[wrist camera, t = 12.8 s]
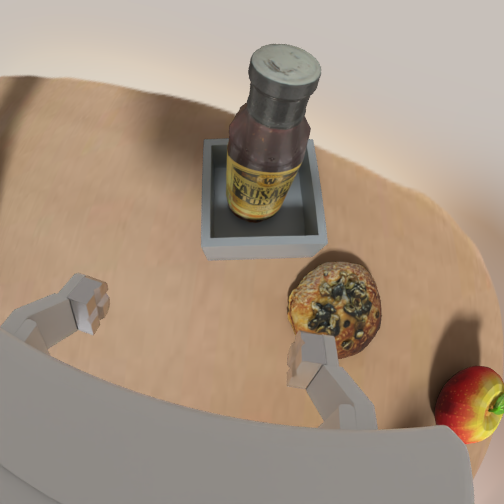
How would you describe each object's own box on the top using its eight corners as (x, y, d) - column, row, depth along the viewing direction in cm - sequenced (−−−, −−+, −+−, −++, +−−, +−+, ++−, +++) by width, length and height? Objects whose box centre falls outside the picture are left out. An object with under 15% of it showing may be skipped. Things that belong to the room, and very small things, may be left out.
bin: (207, 260, 32) (201, 247, 26) (208, 167, 34) (203, 139, 28) (312, 257, 32) (327, 243, 27) (302, 166, 35) (313, 139, 29)
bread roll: (364, 367, 30) (379, 371, 25) (274, 343, 31) (274, 343, 27) (386, 278, 33) (403, 267, 28) (302, 253, 34) (306, 238, 30)
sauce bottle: (227, 226, 32) (216, 99, 12) (226, 176, 33) (219, 32, 14) (286, 225, 32) (347, 104, 13) (282, 175, 33) (323, 37, 14)
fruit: (420, 382, 29) (470, 394, 20) (473, 351, 30) (522, 353, 21) (424, 447, 27) (467, 470, 17) (476, 413, 28) (519, 424, 18)
